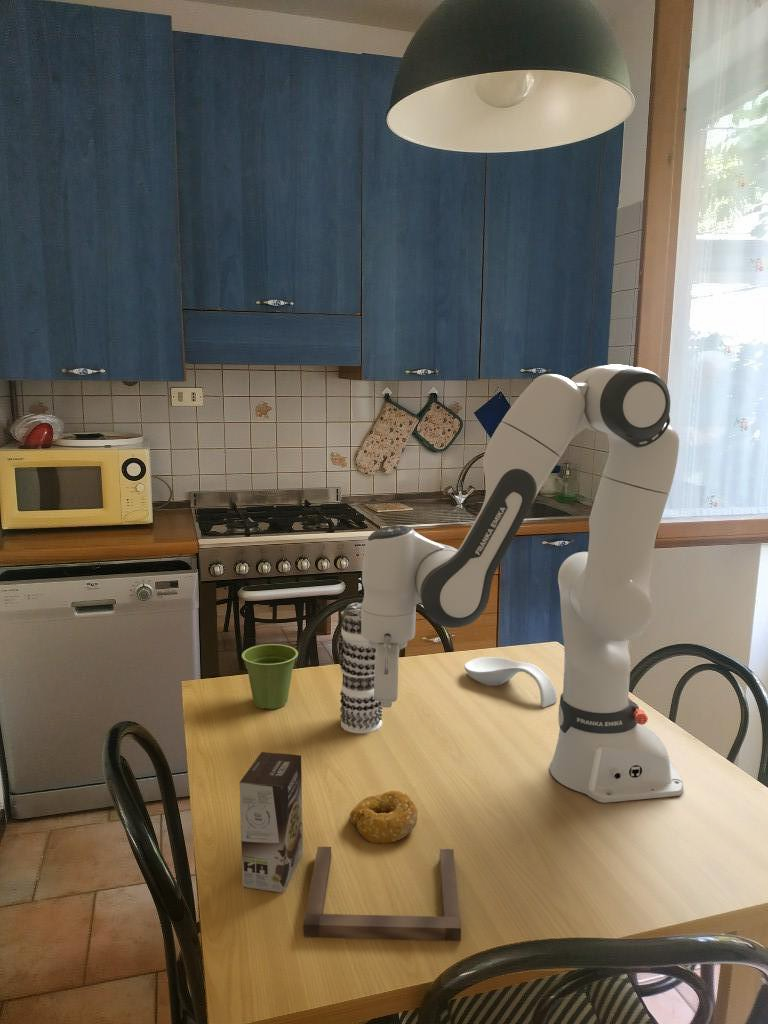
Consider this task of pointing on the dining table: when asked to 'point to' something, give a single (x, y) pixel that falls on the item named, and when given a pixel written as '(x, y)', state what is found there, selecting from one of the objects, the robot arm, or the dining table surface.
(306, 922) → the brown u-shaped frame
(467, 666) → the spoon rest
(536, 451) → the robot arm
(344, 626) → the decorative candle
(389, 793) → the bagel
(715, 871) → the dining table surface
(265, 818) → the coffee box
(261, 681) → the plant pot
